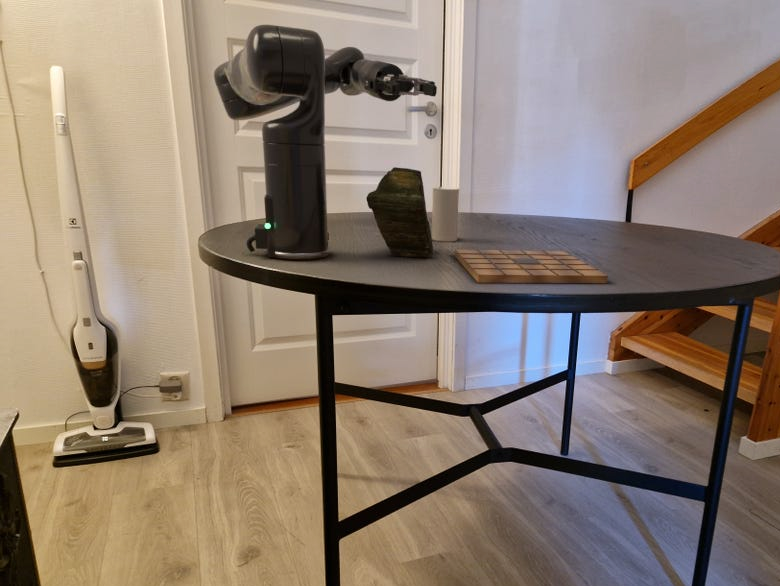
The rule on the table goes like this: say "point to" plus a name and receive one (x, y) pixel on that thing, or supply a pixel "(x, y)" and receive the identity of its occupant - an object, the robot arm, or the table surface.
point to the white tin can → (445, 213)
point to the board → (527, 267)
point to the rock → (402, 213)
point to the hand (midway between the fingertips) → (416, 90)
